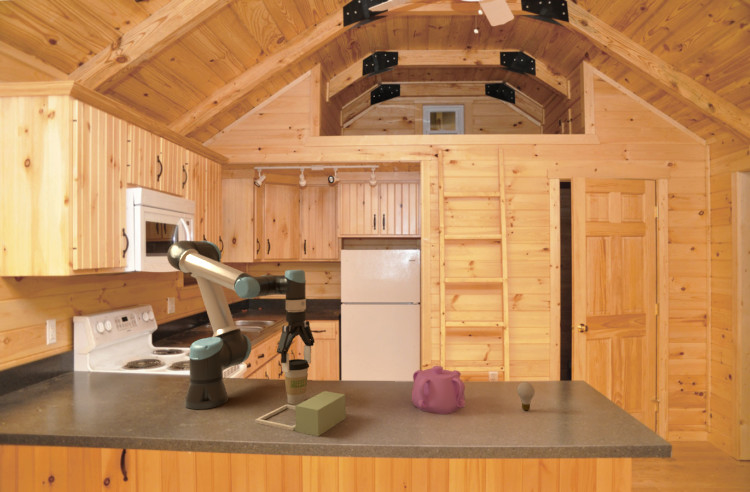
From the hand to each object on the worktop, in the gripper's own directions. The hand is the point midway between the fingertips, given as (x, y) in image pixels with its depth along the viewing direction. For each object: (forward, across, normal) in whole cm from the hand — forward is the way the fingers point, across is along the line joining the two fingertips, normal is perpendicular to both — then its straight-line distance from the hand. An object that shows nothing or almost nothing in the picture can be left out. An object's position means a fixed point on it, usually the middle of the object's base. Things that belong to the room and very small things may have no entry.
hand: (296, 367), depth 167 cm
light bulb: (+14, +28, -78) cm, 84 cm away
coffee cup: (+13, 0, +1) cm, 13 cm away
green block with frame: (+13, -15, -12) cm, 23 cm away
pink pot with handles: (+14, +20, -49) cm, 55 cm away
